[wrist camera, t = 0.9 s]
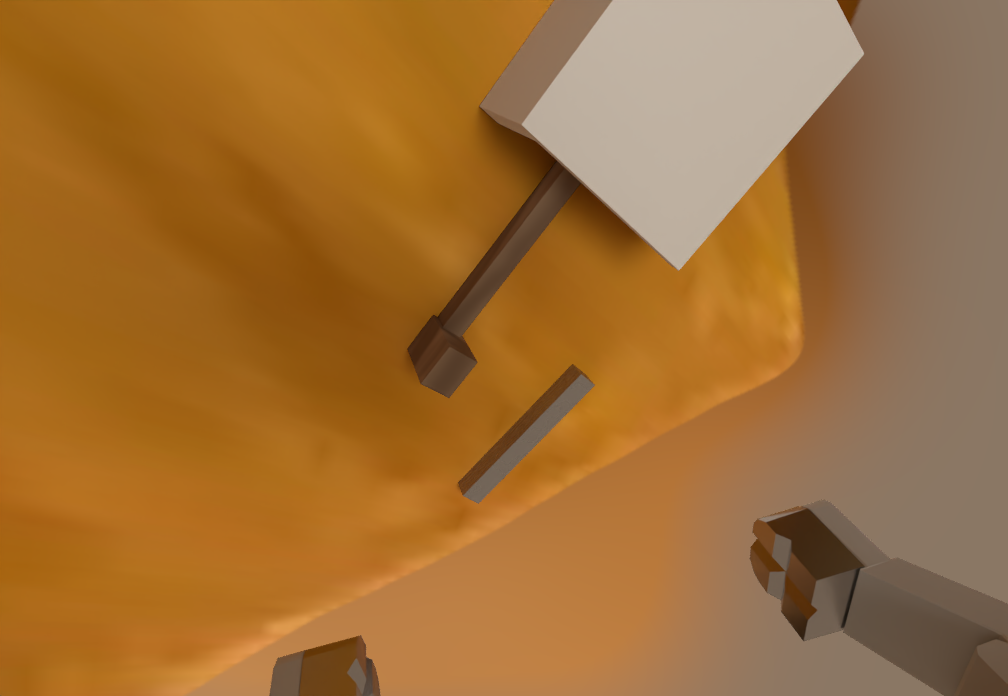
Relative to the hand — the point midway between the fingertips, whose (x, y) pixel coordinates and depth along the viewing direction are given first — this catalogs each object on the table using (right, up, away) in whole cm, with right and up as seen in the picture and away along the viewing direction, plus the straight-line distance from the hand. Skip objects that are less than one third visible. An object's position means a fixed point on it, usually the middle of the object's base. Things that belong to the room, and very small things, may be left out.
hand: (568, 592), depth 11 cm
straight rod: (0, -4, +49) cm, 49 cm away
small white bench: (+9, +27, +34) cm, 45 cm away
